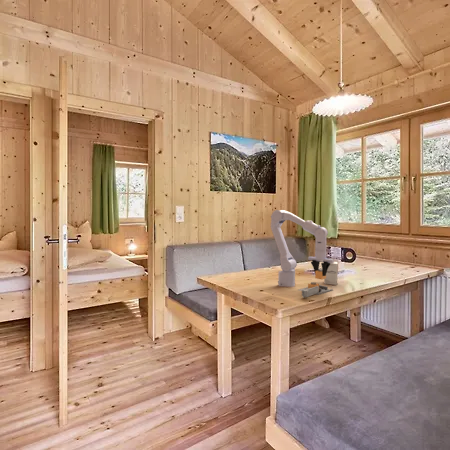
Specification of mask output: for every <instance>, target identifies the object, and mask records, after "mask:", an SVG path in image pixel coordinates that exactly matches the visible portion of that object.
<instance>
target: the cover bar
mask: <svg viewBox="0 0 450 450" xmlns="http://www.w3.org/2000/svg"><path fill="white" fill-rule="evenodd" d="M317 293H319V286H316V287H312V288H309V289H305V290H302V291H301V297H302V298H308V297H310V296H313V295H316V294H317Z"/></svg>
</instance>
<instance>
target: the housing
mask: <svg viewBox="0 0 450 450" xmlns="http://www.w3.org/2000/svg"><path fill="white" fill-rule="evenodd" d="M305 289H308V286H307V287H303V288H299V289H298V291H300V292H302V290H305ZM333 291H334V289H333V288H331V289H329V288H328V286H326V285H321V284H319V293H317V294H315V295H316V296H320V295H324V294H326V293H330V292H333Z"/></svg>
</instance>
